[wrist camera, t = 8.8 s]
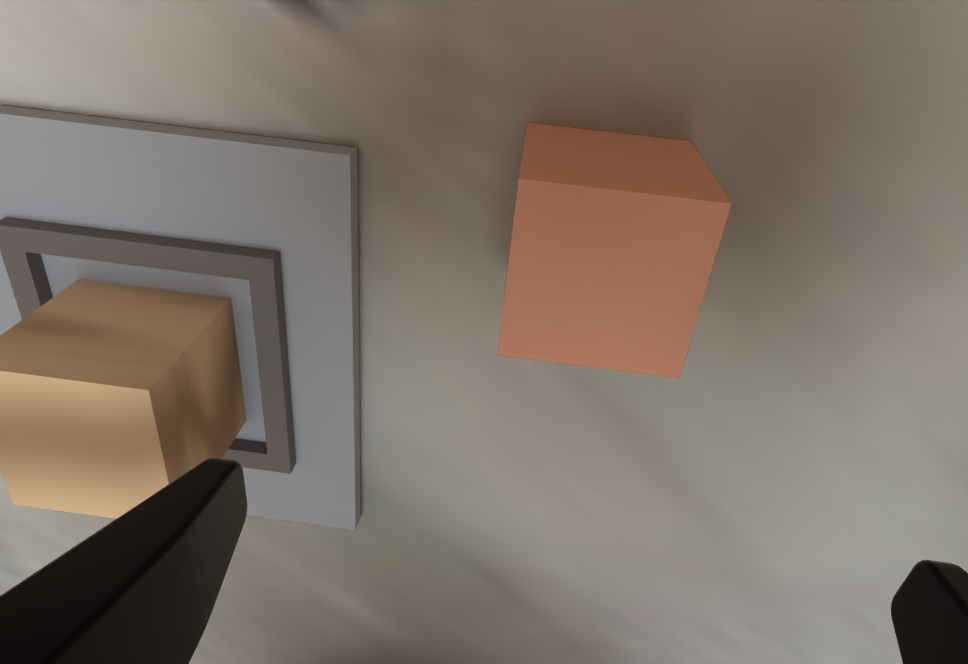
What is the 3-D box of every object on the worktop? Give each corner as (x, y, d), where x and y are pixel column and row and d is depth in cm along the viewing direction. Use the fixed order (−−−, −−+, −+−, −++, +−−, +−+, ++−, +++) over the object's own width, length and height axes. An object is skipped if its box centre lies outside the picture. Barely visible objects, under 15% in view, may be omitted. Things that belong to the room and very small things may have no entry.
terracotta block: (653, 285, 20) (679, 378, 16) (509, 268, 21) (496, 355, 16) (689, 140, 18) (731, 203, 14) (527, 121, 18) (518, 178, 14)
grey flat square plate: (360, 515, 27) (351, 542, 26) (49, 472, 27) (26, 497, 26) (357, 147, 19) (343, 161, 18) (-79, 95, 19) (-121, 106, 18)
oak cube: (246, 420, 24) (178, 527, 19) (110, 402, 24) (13, 504, 20) (231, 298, 21) (148, 390, 17) (79, 278, 21) (-42, 365, 17)
